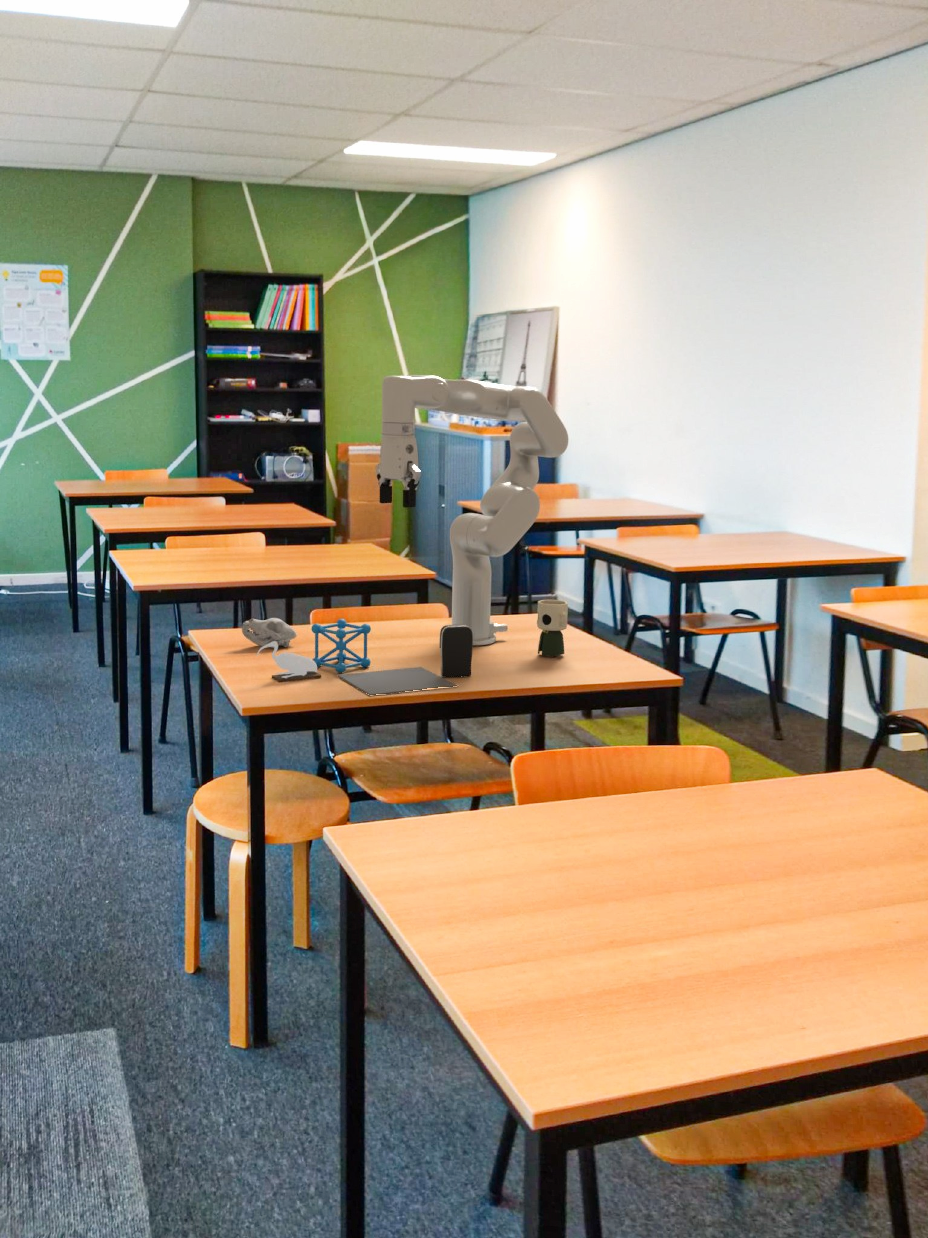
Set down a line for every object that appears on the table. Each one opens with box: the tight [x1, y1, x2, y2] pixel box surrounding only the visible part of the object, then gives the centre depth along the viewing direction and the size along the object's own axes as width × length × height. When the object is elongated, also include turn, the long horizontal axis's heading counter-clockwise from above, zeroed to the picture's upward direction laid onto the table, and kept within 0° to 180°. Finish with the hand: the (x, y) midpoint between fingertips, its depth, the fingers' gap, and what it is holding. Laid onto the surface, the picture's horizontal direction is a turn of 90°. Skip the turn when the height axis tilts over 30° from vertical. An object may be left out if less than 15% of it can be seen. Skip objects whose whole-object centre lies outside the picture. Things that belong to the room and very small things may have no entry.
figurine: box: [256, 641, 322, 684], centre depth 268 cm, size 14×4×9 cm, turn 121°
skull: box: [241, 617, 298, 649], centre depth 298 cm, size 8×9×12 cm
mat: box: [337, 666, 458, 696], centre depth 268 cm, size 20×18×1 cm
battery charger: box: [439, 624, 474, 679], centre depth 274 cm, size 7×4×11 cm, turn 106°
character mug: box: [536, 599, 569, 658], centre depth 295 cm, size 11×7×13 cm, turn 32°
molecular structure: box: [310, 618, 372, 674], centre depth 279 cm, size 10×10×10 cm
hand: (397, 505), depth 290 cm, fingers open, 9 cm apart
